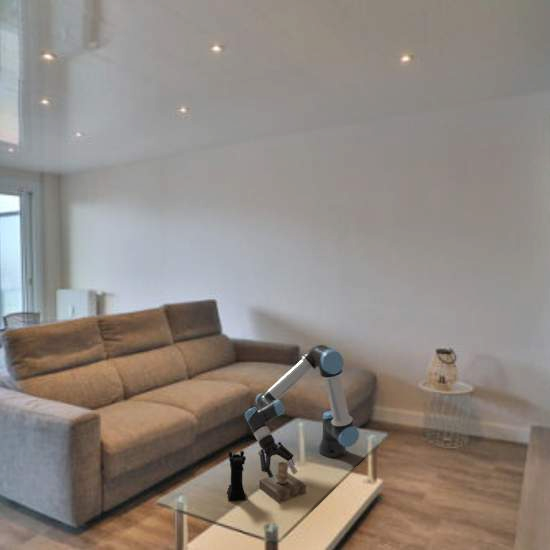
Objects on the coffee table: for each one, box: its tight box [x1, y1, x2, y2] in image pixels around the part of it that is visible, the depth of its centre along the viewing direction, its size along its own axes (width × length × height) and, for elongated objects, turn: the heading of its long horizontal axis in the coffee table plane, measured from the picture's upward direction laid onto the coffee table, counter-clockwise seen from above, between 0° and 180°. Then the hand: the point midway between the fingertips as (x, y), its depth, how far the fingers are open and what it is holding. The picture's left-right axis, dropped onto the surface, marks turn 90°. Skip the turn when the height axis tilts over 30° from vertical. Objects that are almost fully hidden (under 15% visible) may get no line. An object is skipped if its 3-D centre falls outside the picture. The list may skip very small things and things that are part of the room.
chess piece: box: [226, 450, 247, 502], centre depth 222 cm, size 8×8×20 cm
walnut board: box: [258, 471, 307, 504], centre depth 229 cm, size 16×16×4 cm
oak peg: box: [277, 461, 289, 486], centre depth 228 cm, size 4×4×13 cm
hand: (286, 478), depth 227 cm, fingers open, 13 cm apart
